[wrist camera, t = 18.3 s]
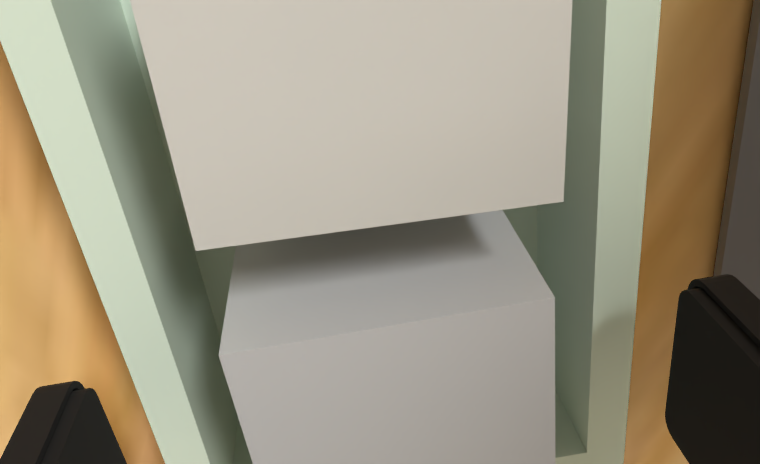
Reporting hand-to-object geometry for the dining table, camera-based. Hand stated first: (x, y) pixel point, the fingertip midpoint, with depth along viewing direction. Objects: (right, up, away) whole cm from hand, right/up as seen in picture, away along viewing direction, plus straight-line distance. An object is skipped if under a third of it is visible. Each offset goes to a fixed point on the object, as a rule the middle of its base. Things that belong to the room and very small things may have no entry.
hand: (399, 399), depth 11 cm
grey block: (-1, +2, +4) cm, 4 cm away
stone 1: (-1, +7, +1) cm, 8 cm away
